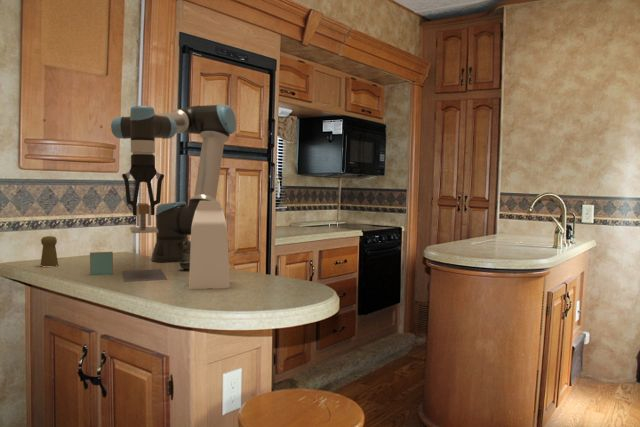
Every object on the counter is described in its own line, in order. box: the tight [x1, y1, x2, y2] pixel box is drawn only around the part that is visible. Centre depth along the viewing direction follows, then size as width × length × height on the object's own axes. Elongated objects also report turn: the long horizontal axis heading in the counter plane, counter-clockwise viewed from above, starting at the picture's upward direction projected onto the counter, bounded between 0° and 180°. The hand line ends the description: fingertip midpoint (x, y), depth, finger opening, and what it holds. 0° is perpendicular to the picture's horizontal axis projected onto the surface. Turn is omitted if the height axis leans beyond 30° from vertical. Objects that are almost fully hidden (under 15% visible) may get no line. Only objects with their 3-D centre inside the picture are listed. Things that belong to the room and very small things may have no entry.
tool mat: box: [121, 268, 169, 283], centre depth 182 cm, size 13×22×1 cm, turn 22°
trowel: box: [129, 202, 158, 234], centre depth 181 cm, size 15×8×9 cm, turn 22°
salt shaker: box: [178, 237, 191, 271], centre depth 192 cm, size 6×6×12 cm
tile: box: [89, 251, 114, 276], centre depth 182 cm, size 7×2×8 cm, turn 112°
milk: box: [188, 200, 231, 290], centre depth 168 cm, size 12×12×26 cm
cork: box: [40, 235, 59, 267], centre depth 201 cm, size 6×6×11 cm
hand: (143, 225), depth 180 cm, fingers closed on trowel, 3 cm apart
